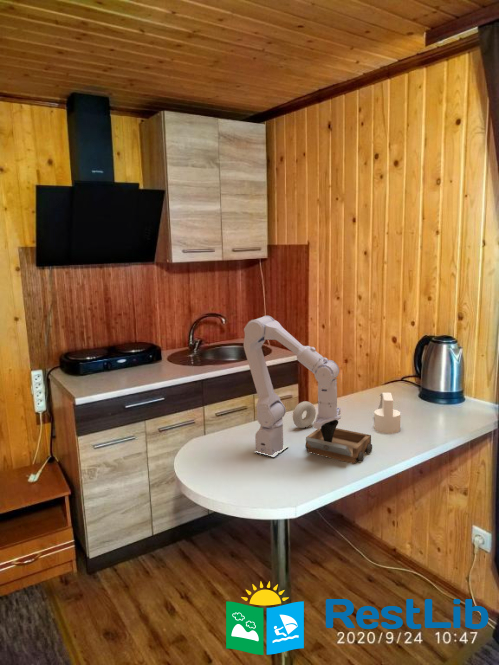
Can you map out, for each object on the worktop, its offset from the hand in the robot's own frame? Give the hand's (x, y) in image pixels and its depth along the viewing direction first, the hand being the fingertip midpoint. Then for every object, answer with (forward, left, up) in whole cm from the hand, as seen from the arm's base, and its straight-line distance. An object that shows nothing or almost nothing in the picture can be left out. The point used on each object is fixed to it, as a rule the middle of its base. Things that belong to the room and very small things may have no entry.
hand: (327, 443), depth 148 cm
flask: (+42, -3, -6) cm, 42 cm away
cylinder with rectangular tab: (+34, -7, -6) cm, 35 cm away
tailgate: (+2, 0, -4) cm, 4 cm away
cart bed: (+8, 0, -6) cm, 10 cm away
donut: (+20, +19, -6) cm, 28 cm away
